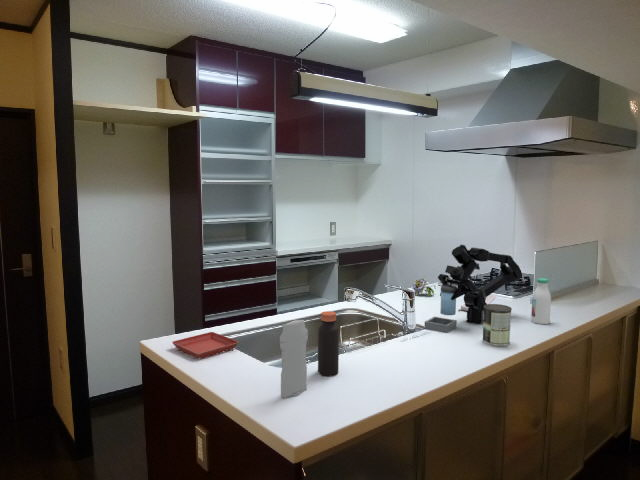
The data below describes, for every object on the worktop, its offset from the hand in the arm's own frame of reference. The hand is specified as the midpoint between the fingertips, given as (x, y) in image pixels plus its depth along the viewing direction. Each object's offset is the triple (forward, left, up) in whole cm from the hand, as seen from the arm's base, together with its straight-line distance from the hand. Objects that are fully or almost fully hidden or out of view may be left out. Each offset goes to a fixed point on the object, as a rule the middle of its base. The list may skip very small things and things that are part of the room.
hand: (446, 297), depth 210 cm
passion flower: (+34, -54, -13) cm, 65 cm away
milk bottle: (-32, -34, -13) cm, 48 cm away
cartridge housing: (+1, +2, -13) cm, 13 cm away
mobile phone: (-1, -41, -13) cm, 44 cm away
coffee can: (-24, +7, -13) cm, 28 cm away
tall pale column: (+10, +92, -13) cm, 94 cm away
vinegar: (+11, +73, -13) cm, 75 cm away
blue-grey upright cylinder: (-1, -1, -7) cm, 7 cm away
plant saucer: (+61, +82, -14) cm, 103 cm away
